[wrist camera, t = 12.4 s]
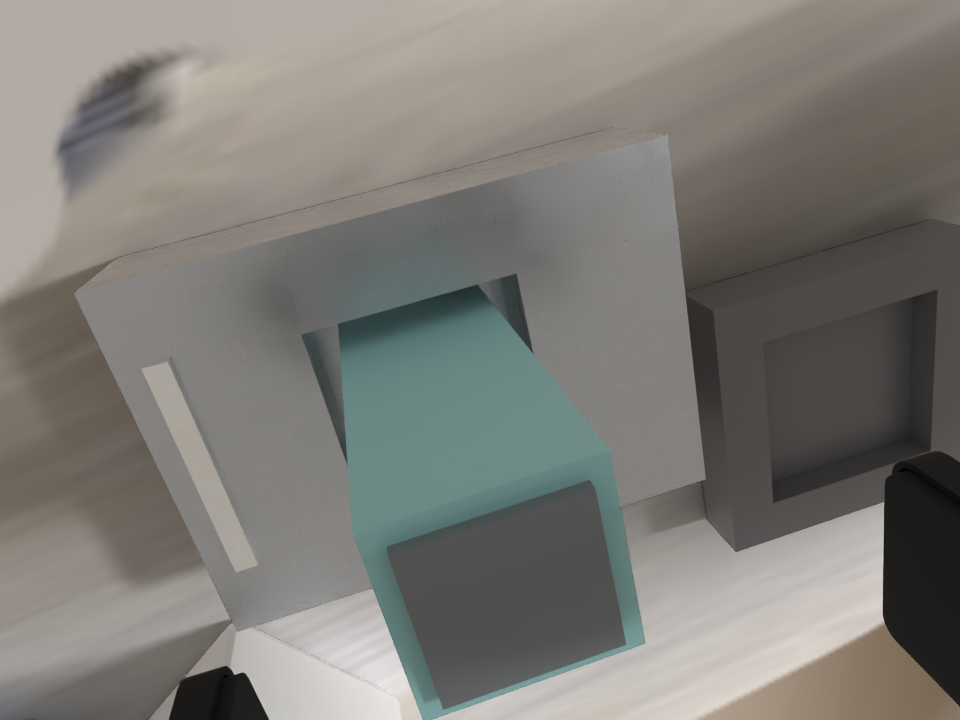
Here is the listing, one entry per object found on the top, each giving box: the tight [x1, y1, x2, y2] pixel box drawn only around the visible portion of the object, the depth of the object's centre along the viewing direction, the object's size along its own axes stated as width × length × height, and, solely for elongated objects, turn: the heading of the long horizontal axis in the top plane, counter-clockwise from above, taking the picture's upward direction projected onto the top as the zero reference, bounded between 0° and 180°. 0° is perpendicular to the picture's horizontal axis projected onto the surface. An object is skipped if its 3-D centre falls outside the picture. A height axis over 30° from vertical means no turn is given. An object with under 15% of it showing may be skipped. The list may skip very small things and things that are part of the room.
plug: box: [338, 284, 645, 720], centre depth 16 cm, size 4×4×10 cm
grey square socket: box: [685, 220, 960, 552], centre depth 24 cm, size 9×9×2 cm
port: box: [74, 128, 706, 632], centre depth 19 cm, size 14×10×4 cm
